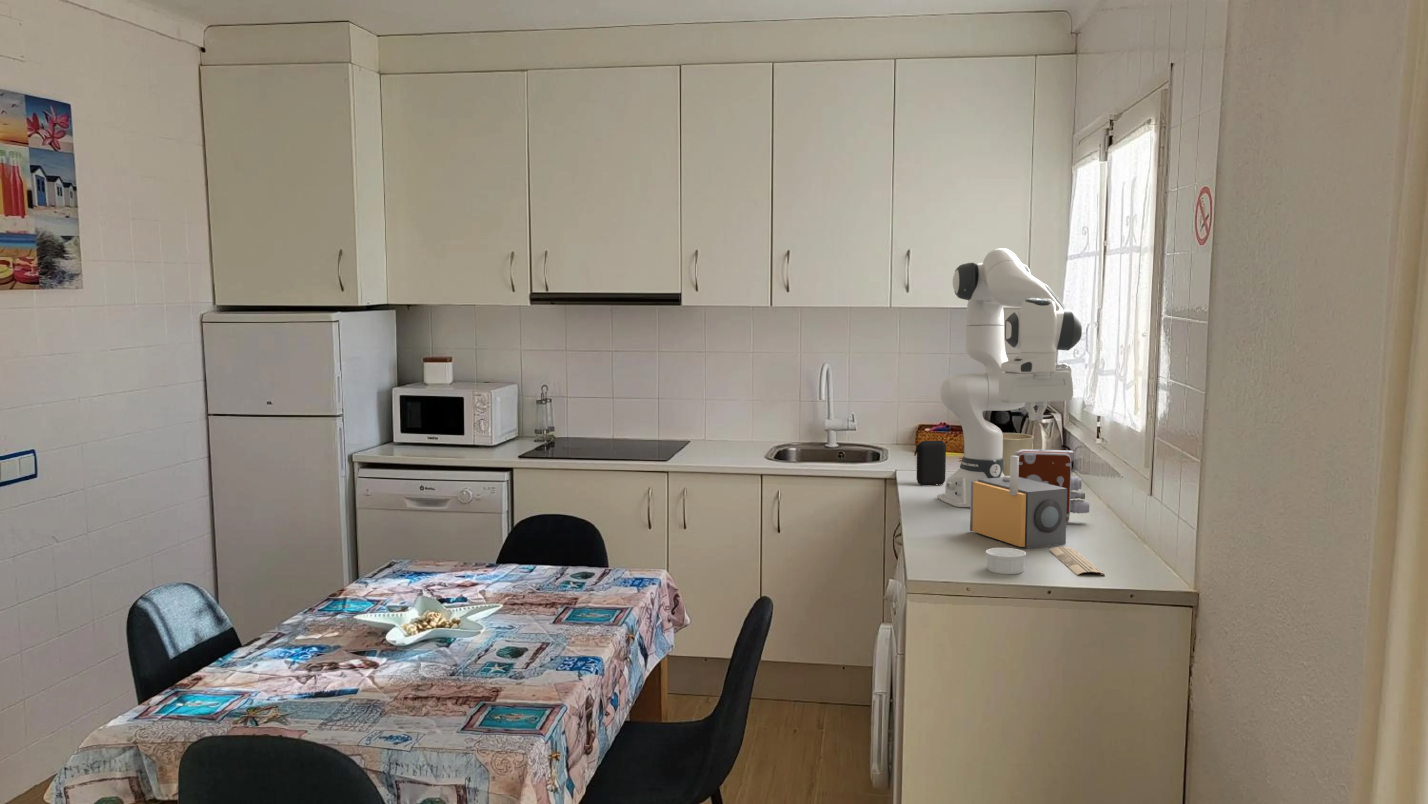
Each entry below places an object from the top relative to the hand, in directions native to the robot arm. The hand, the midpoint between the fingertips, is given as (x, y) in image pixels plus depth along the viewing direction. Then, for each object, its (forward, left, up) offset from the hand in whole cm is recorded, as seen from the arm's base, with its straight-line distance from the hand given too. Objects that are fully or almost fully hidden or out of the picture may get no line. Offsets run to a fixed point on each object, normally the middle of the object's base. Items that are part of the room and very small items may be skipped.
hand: (1035, 420), depth 264 cm
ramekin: (+18, -22, -32) cm, 42 cm away
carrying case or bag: (-81, +24, -31) cm, 90 cm away
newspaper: (+18, -3, -32) cm, 37 cm away
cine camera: (-19, +22, -31) cm, 43 cm away
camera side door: (-8, -6, -31) cm, 32 cm away
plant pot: (-73, +50, -31) cm, 94 cm away
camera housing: (-7, +2, -31) cm, 32 cm away
